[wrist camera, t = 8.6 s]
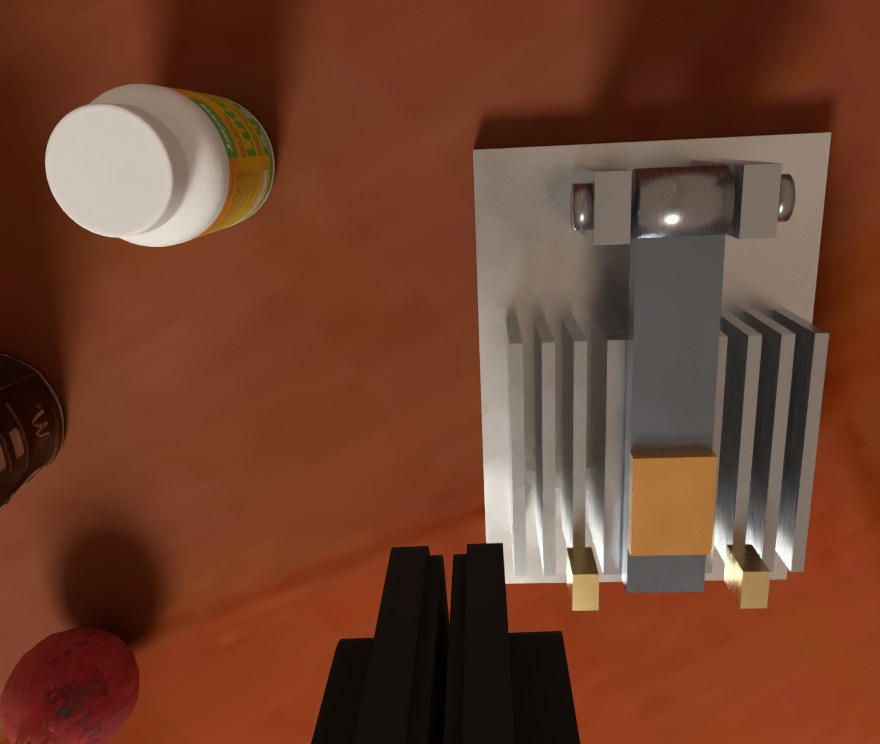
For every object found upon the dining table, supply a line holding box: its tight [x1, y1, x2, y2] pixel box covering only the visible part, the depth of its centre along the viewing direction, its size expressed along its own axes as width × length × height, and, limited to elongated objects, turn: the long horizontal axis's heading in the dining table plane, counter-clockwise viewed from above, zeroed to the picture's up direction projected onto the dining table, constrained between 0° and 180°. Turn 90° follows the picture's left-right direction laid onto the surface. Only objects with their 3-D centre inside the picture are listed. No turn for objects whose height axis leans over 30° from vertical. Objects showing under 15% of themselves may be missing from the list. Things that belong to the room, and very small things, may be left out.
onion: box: [1, 628, 139, 744], centre depth 36 cm, size 6×6×8 cm
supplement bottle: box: [45, 84, 275, 247], centre depth 27 cm, size 5×5×10 cm
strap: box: [622, 164, 735, 593], centre depth 28 cm, size 16×3×2 cm, turn 3°
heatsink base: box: [473, 132, 831, 611], centre depth 30 cm, size 20×14×7 cm
